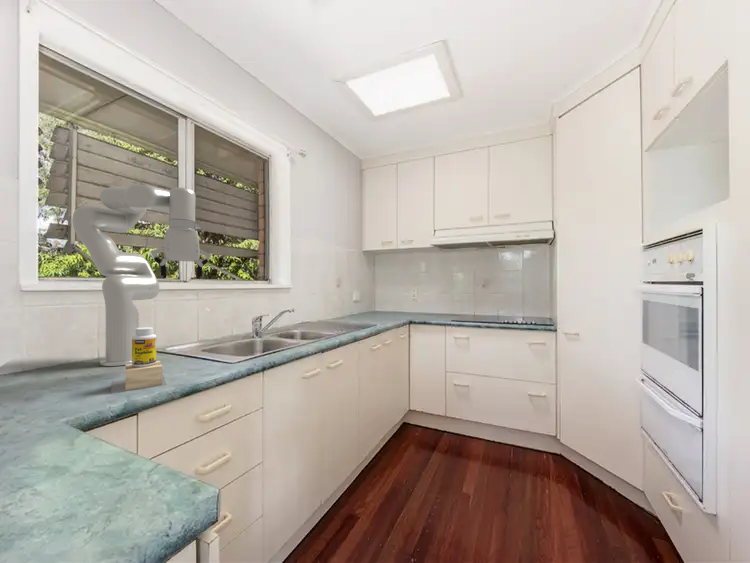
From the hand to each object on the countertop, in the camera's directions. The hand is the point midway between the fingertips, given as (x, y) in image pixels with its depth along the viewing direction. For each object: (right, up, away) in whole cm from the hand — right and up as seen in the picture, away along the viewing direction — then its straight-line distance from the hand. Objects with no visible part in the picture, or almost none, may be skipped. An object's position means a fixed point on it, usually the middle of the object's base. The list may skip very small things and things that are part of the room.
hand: (181, 278), depth 111 cm
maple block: (0, -29, -18) cm, 34 cm away
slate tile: (-1, -30, -18) cm, 35 cm away
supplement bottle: (0, -24, -18) cm, 30 cm away
